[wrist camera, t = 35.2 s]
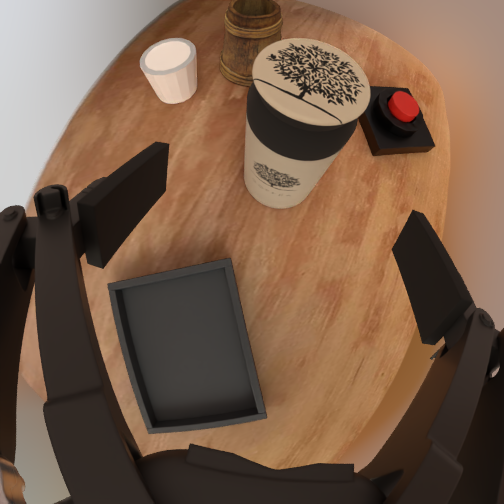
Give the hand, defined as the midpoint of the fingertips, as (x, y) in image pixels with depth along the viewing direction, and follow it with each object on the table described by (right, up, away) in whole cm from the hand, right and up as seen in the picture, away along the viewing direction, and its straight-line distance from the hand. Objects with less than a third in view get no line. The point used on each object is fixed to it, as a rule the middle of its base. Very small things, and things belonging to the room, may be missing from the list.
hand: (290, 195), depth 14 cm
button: (+18, +16, +17) cm, 29 cm away
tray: (-9, -14, +16) cm, 23 cm away
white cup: (-12, +19, +20) cm, 30 cm away
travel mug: (+1, +6, +19) cm, 20 cm away
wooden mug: (-1, +26, +21) cm, 33 cm away
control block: (+17, +15, +20) cm, 31 cm away
